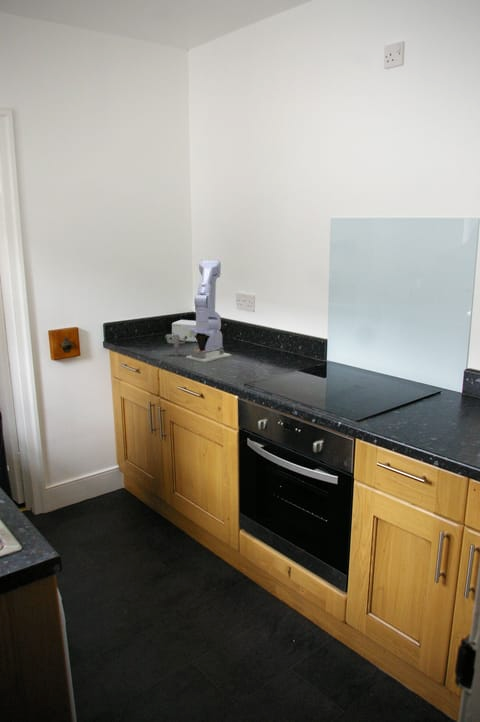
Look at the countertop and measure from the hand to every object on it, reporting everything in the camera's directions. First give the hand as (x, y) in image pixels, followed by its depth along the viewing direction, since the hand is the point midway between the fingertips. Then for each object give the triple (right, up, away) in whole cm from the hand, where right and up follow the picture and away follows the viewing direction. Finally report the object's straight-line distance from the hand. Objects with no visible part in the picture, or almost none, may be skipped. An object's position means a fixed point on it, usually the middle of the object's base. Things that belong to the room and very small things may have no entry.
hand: (202, 349), depth 271 cm
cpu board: (+3, -3, +4) cm, 6 cm away
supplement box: (-9, +7, +48) cm, 49 cm away
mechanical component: (-13, -3, +6) cm, 14 cm away
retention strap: (+2, 0, +3) cm, 4 cm away
